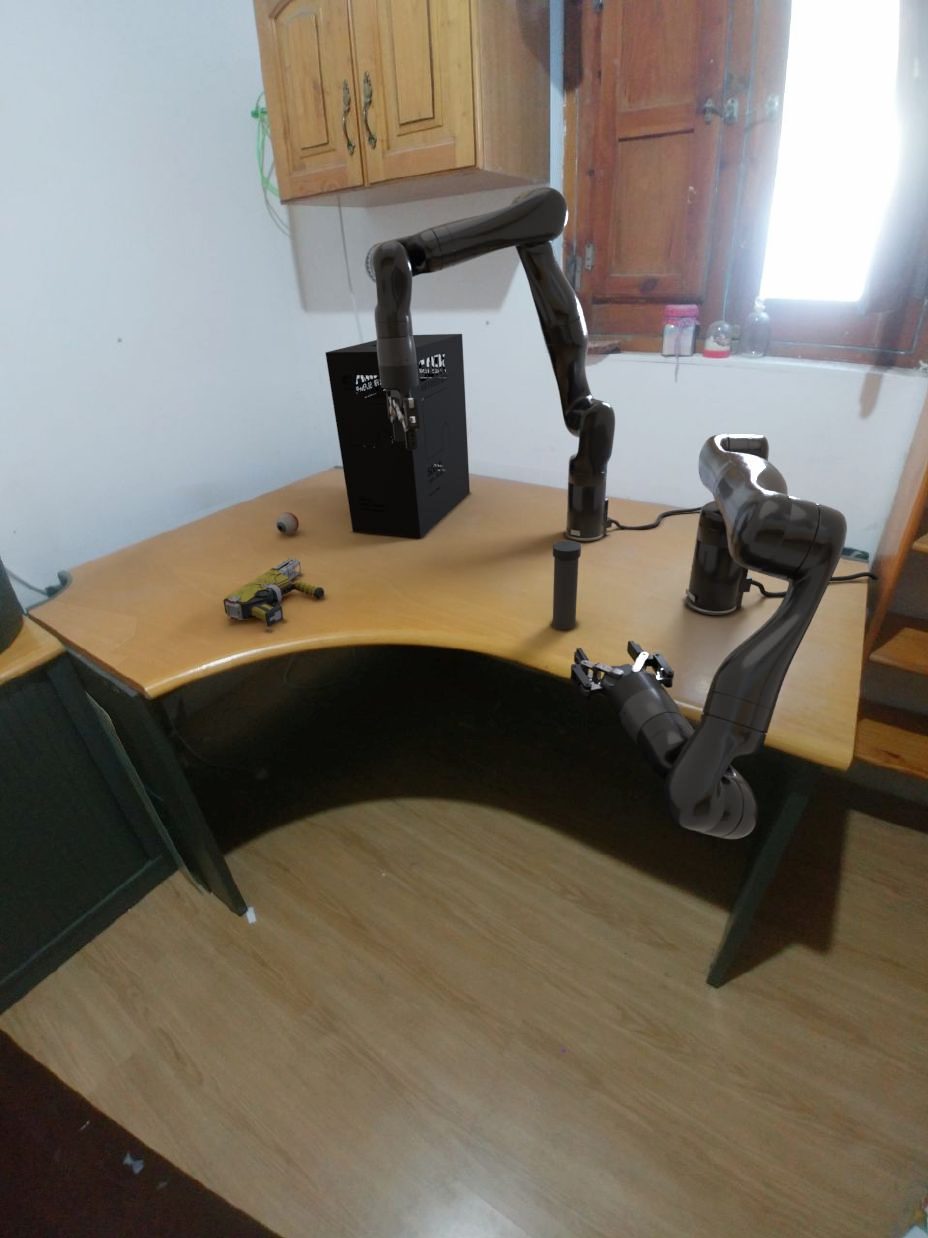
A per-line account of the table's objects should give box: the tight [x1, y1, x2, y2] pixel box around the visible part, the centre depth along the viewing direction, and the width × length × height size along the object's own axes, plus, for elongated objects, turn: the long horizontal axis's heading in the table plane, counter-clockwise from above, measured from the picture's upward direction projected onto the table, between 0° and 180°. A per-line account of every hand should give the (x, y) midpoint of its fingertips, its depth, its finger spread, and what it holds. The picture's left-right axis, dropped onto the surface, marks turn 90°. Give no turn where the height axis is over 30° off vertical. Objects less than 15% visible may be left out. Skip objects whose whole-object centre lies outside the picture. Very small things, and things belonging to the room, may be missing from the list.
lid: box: [552, 539, 582, 560], centre depth 109 cm, size 5×5×2 cm
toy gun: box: [222, 557, 325, 628], centre depth 130 cm, size 5×24×15 cm
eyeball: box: [275, 511, 300, 536], centre depth 163 cm, size 6×6×6 cm
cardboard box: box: [325, 333, 471, 539], centre depth 165 cm, size 38×20×45 cm, turn 159°
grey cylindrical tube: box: [552, 557, 580, 631], centre depth 112 cm, size 4×4×16 cm
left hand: (405, 445), depth 126 cm, fingers open, 8 cm apart
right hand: (603, 649), depth 96 cm, fingers open, 8 cm apart
